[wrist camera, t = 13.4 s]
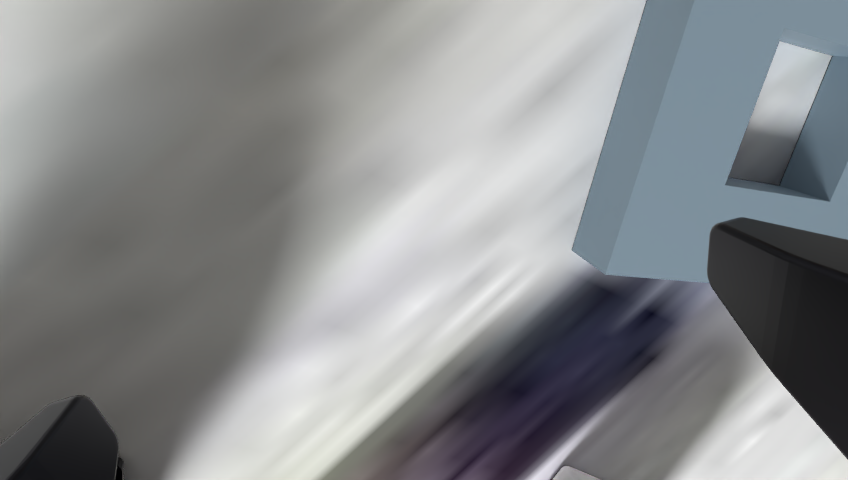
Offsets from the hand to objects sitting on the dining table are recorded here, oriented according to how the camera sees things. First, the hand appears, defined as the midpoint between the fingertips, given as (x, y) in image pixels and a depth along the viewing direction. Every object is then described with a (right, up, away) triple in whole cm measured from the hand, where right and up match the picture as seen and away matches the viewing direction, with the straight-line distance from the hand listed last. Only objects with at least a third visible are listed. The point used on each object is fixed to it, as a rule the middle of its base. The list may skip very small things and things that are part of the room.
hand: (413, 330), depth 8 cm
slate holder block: (+14, +7, +16) cm, 22 cm away
